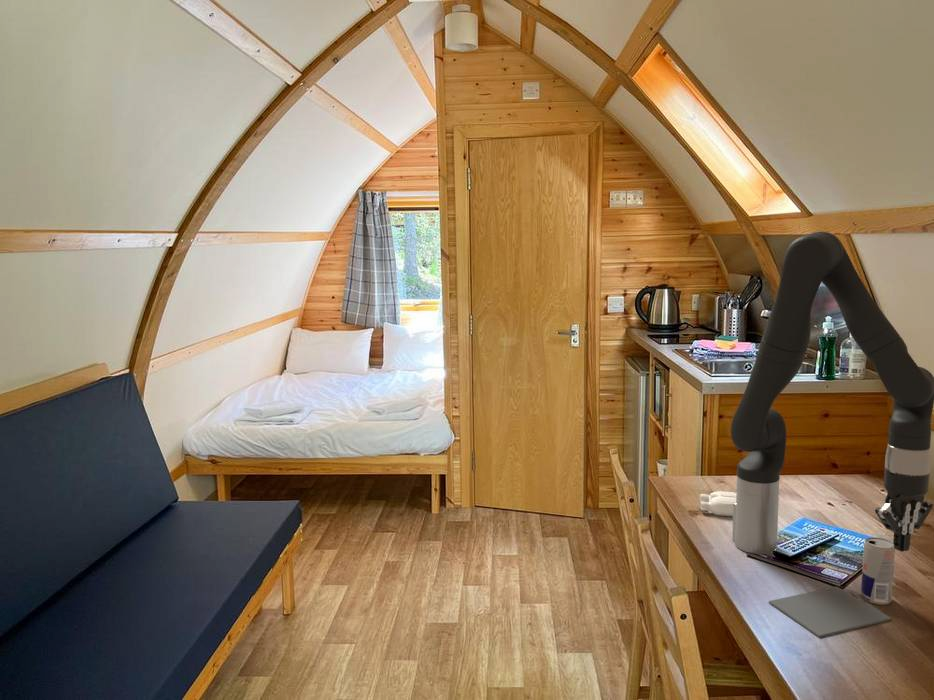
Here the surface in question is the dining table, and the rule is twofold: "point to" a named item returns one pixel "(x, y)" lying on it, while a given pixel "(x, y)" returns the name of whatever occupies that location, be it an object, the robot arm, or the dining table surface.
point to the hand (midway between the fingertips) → (901, 549)
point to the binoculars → (718, 503)
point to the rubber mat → (829, 611)
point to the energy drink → (878, 570)
